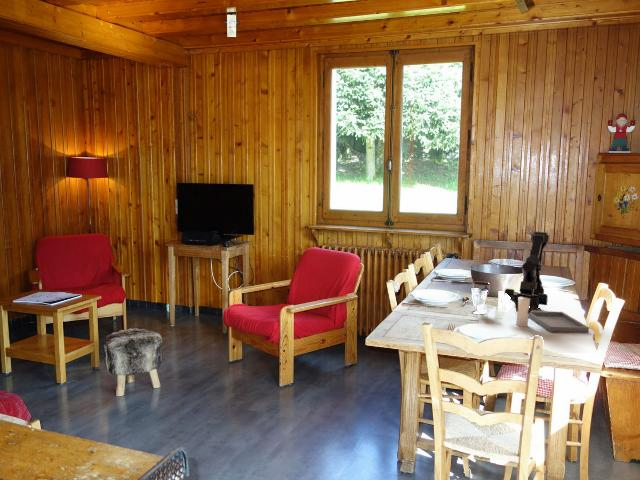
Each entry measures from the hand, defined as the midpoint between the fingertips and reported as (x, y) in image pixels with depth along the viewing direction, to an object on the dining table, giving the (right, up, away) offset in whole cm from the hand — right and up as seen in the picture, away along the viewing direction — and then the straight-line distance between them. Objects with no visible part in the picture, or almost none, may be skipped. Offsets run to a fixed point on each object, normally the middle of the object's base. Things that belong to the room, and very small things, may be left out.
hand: (522, 312), depth 261 cm
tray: (+18, -6, +6) cm, 20 cm away
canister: (0, -6, +2) cm, 7 cm away
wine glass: (-15, -3, +20) cm, 25 cm away
